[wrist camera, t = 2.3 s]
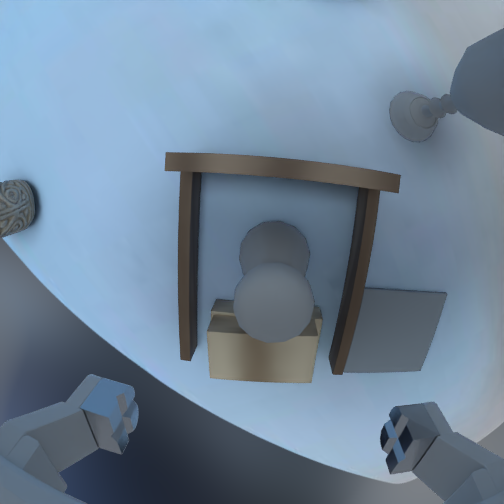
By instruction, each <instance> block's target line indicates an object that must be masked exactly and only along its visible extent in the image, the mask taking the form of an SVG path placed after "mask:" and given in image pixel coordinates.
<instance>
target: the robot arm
mask: <svg viewBox="0 0 504 504" xmlns="http://www.w3.org/2000/svg"><path fill="white" fill-rule="evenodd" d="M134 396H135V393H134V389H133V387H132V386H130V385H126V384H123V383H119V382H116V381H112V380H109V379H105V378H102V377H98V376H95V375H92V374H91V375H88V376H87V377H86V378H85V379H84V381H83V382H82V383H81V384H80V385H79V387H78V388H77V389H76V390H75V391H74V393H73V394H72V395H71V397H70V398H69V399H68V400H67V401H66V403H64V402H60V403H57V404H54V405H51V406H49V407H46V408H43V409H41V410H37V411H35V412H32V413H29V414H26V415H23V416H20V417H17V418H14V419H11V420H8V421H6V422H5V423H4V424H3V425H2V426H1V427H0V504H87V503H85V502H82V501H80V500H78V499H76V498H74V497H71V496H69V495H67V494H65V493H64V492H65V490H66V488H67V485H66V483H65V481H64V480H63V479H62V477H61V476H60V474H59V473H58V472H60V471H62V470H63V469H65V468H67V467H69V466H70V465H72V464H74V463H75V462H77V461H79V460H81V459H82V458H84V457H85V456H87V455H89V454H90V453H92V452H94V451H95V450H97V449H98V447H99V448H103V449H106V450H109V451H112V452H115V453H118V454H122V453H123V451H124V449H125V447H126V445H127V443H128V441H129V439H128V435H127V434H128V433H130V432H132V431H134V429H135V427H136V425H137V420H138V406H137V404H136V403H135V402H134V401H133V398H134ZM389 417H390V420H389V421H388V422H386V423H385V424H384V426H383V428H382V430H381V436H380V443H381V447H382V450H383V451H385V452H386V453H387V454H388V455H387V458H386V463H387V466H388V469H389V472H390V474H396V473H403V472H409V471H412V472H413V473H414V474H415V475H416V476H417V477H418V478H419V479H420V480H421V481H423V482H424V483H425V484H426V485H427V486H428V487H429V488H430V489H431V490H432V491H434V492H435V493H436V494H437V495H438V496H439V497H440V498H442V499H443V500H444V501H445V502H444V503H443V504H504V459H503V458H501V457H499V456H498V455H496V454H494V453H492V452H491V451H489V450H487V449H485V448H483V447H482V446H480V445H478V444H476V443H475V442H473V441H471V440H470V439H468V438H466V437H464V436H463V435H461V434H459V433H458V432H454V433H453V431H452V429H451V428H450V426H449V424H448V422H447V421H446V419H445V417H444V416H443V414H442V412H441V410H440V409H439V407H438V405H437V404H436V403H435V402H427V403H421V404H412V405H404V406H395V407H394V408H393V409H392V410H391V412H390V414H389Z"/></svg>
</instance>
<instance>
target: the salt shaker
mask: <svg viewBox="0 0 504 504" xmlns="http://www.w3.org/2000/svg"><path fill="white" fill-rule="evenodd" d="M309 256H310V252H309V249H308V245H307V242H306V239H305V238H304V237H303V235H302V234H301V233H300V232H299V231H298V230H297V229H296V228H295V227H294V226H291V225H289V224H286V223H283V222H281V221H273V222H264V223H262V224H260V225H258V226H257V227H255V228H253V229H251V230H250V231H249V232H248V234H247V235H246V237H245V238H244V240H243V241H242V243H241V247H240V256H239V260H240V263H241V267H242V271H243V274H244V277H243V278H242V279H241V281H240V282H239V284H238V285H237V287H236V289H235V294H234V304H233V309H234V314H235V316H236V319H237V322H238V324H239V327H241V328H242V329H243V330H244V331H245V332H246V333H247V334H248V335H249V336H251V337H252V338H255V339H258V340H260V341H263V342H266V343H274V342H285V341H287V340H289V339H292V338H294V337H296V336H298V335H300V334H301V332H302V331H303V330H304V329H305V328H306V326H307V325H308V324H309V323H310V320H311V316H312V312H313V308H314V302H315V301H314V298H313V294H312V291H311V287H310V284H309V282H308V280H307V279H306V278H305V273H306V270H307V266H308V261H309Z"/></svg>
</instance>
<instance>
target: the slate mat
mask: <svg viewBox="0 0 504 504" xmlns="http://www.w3.org/2000/svg"><path fill="white" fill-rule="evenodd" d="M446 296H447V293H445V292H427V291H410V290H394V289H380V288H366V287H365V288H364V292H363V297H362V301H361V306H360V310H359V315H358V319H357V323H356V327H355V331H354V335H353V339H352V342H351V346H350V350H349V354H348V357H347V361H346V364H345V368H344V371H343V372H344V373H377V372H408V371H420V370H421V368H422V366H423V363H424V361H425V358H426V356H427V353H428V350H429V348H430V345H431V342H432V340H433V337H434V334H435V331H436V328H437V325H438V322H439V319H440V316H441V313H442V310H443V306H444V303H445V300H446Z"/></svg>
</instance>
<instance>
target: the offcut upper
mask: <svg viewBox="0 0 504 504" xmlns="http://www.w3.org/2000/svg"><path fill="white" fill-rule="evenodd" d="M318 337H319V336H318V332H317V328H316V323H315V319H311V320H310V323H309V324H308V325H307V326H306V328H305V329H304V330H303V331H302V332H301V334H300V335H298V336H296V337H294V338H292V339H289V340H287V341H285V342H274V343H266V342H263V341H260V340H258V339H255V338H252V337H251V336H249V335H248V334H247V333H246V332H245V331H244V330H243V329H242V328H241V327H239V324H238V322H237V319H236V316H226V315H213V317H212V320H211V322H210V325H209V327H208V330H207V342H208V357H209V371H210V378H215V379H226V380H239V381H255V382H278V383H311V382H312V376H313V370H314V364H315V357H316V351H317V344H318Z"/></svg>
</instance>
